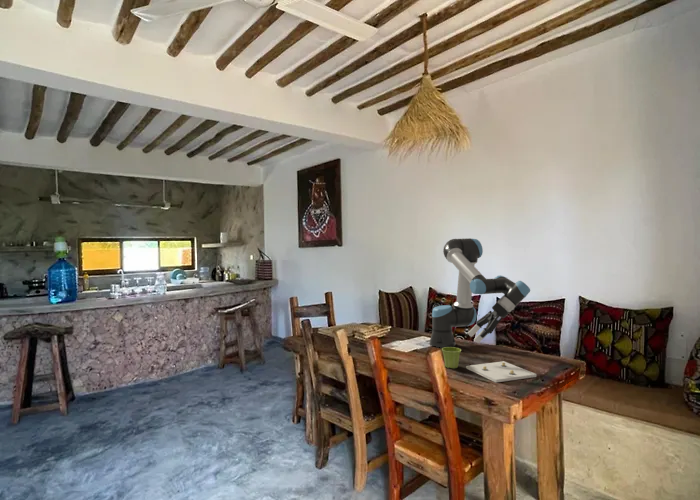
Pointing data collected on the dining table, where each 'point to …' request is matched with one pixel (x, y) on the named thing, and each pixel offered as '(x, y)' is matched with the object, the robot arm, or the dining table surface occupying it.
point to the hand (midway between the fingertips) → (472, 338)
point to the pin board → (501, 371)
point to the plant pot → (451, 356)
